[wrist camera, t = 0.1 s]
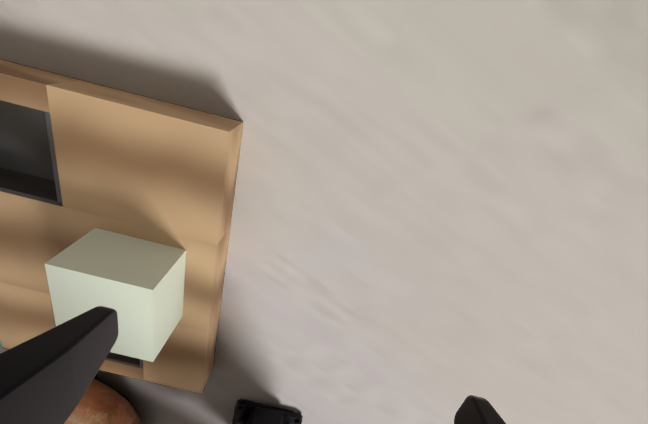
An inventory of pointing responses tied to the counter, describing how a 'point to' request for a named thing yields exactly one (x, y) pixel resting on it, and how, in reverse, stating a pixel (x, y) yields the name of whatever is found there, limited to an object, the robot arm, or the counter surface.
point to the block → (121, 287)
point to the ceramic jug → (103, 407)
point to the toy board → (113, 203)
